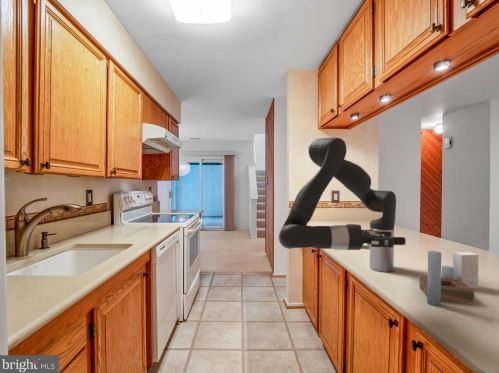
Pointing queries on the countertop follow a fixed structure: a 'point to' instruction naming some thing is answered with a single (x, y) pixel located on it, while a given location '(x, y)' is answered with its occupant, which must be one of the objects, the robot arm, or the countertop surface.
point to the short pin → (447, 272)
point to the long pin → (434, 278)
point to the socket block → (451, 290)
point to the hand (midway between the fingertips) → (397, 237)
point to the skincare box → (466, 268)
